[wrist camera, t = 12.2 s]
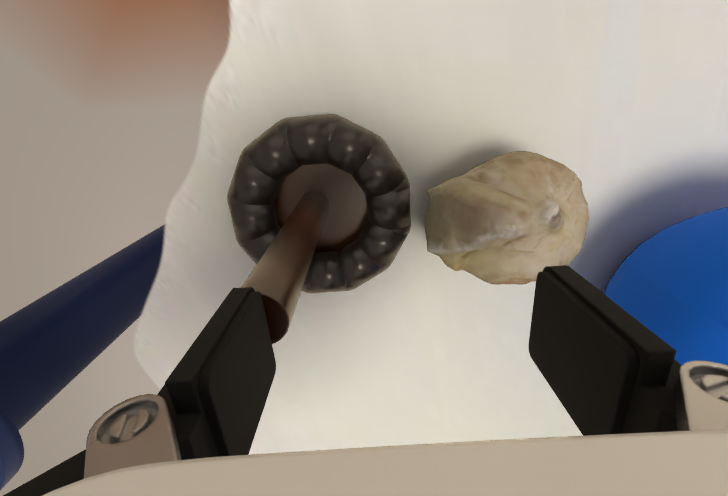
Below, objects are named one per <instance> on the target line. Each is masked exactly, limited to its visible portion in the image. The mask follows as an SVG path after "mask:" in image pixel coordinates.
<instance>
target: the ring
mask: <svg viewBox="0 0 728 496" xmlns="http://www.w3.org/2000/svg"><path fill="white" fill-rule="evenodd" d="M327 163H328V164H330V165H332V166H334V167H336V168H338V169H341V170H343V171H345V172H347V173H349V174H351V175H352V176H353V177H354V179H355V180H356V182H357V183H358V185H359V186H360V188H361V189H362V190H363V192H364V193H365V195H366V200H367V213H368V220H367V222H366V224H365V226H364V228H363V230H362V232H361V234H360V236H359V238H358V239H357V240H355V241H354V242H352V243H351V244H349V245H347V246H346V247H344V248H343V249H341V250H340V251H331V252H317V253H315V252H314V254H313V257H312V260H311V263H310V266H309V269H308V272H307V275H306V278H305V281H304V284H303V287H302V290H301V291H304V292H307V293H322V292H336V291H349V290H353V289H355V288H357V287H358V286H360V285H362V284H363V283H365V282H366V281H368V280H370V279H371V278H373V277H375V276H376V275H378V274H380V273H381V272H383V271H384V270H386V269H387V268H388V267H389V266H390V265H391V263H392V262H393V260H394V258H395V256H396V254H397V253H398V251H399V249H400V247H401V245H402V244H403V242H404V240H405V238H406V236H407V235H408V233H409V231H410V227H411V207H410V184H409V180H408V177H407V175H406V174H405V172H404V171H403V169H402V168H401V166H400V164H399V163H398V161H397V160H396V158H395V157H394V155H393V153H392V152H391V150H390V149H389V147H388V146H387V144H386V143H385V141H384V140H383V139H382V138H381V137H380V136H378V135H376V134H374V133H372V132H370V131H368V130H366V129H364V128H362V127H360V126H358V125H356V124H354V123H352V122H350V121H348V120H346V119H344V118H342V117H340V116H338V115H334V114H327V115H315V116H304V117H292V118H285V119H282V120H280V121H279V122H277V123H276V124H275V125H273V126H272V127H271V128H269V129H268V130H267V131H266V132H264V133H263V134H262V135H260V136H259V137H258V138H257V139H255V140H254V141H253V142H251V143H250V144H249V145H248V146H247V147H245V148H244V150H243V151H242V153H241V155H240V158H239V161H238V164H237V167H236V170H235V172H234V175H233V178H232V181H231V184H230V187H229V190H228V195H227V200H228V205H229V209H230V214H231V218H232V222H233V227H234V231H235V236H236V239H237V241H238V243H239V245H240V246H241V247H242V249H243V250H244V251H245V252H246V253H247V254H248V255H249V256H250V258H251V259H252V260H253V261H254V262H255V263H256V264H257V263H258V262H259V260H260V259H261V257H262V256H263V255H264V253H265V252H266V250H267V249H268V247H269V246H270V244H271V243H272V241H273V240H274V238H275V237H276V235H277V234H278V232H279V231H280V229H281V227H280V226H279V225H278V221H277V216H276V210H275V204H274V200H275V197H276V195H277V192H278V190H279V187H280V184H281V182H282V180H283V179H284V178H285V177H287V176H288V175H290V174H291V173H292V172H294V171H295V170H296V169H298V168H299V167H300V166H302V165H314V164H327Z"/></svg>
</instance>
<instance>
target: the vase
mask: <svg viewBox="0 0 728 496" xmlns="http://www.w3.org/2000/svg"><path fill="white" fill-rule="evenodd" d="M605 295H606V296H607V297H608V298H610V299H611V300H612V301H613V302H615V303H616V304H617V305H619V306H620V307H621V308H622V309H624V310H625V311H626V312H628V313H629V314H630V315H631V316H633V317H634V318H635V319H637V320H638V321H639V322H640V323H642V324H643V325H644V326H645V327H647V328H648V329H649V330H651V331H652V332H653V333H654V334H656V335H657V336H658V337H660V338H661V339H662V340H663V341H665V342H666V343H667V344H669V345H670V346H671V347H672V348H674V349H675V350H676V354H675V357H674V359H675V360H676V361H677V362H678V363H680V364H681V365H683V364H685V363H686V362H691V361H710V362H715V363H721V364H724V365H727V366H728V207H725V208H721V209H718V210H715V211H711V212H708V213H705V214H702V215H698V216H695V217H692V218H689V219H687V220H684V221H682V222H679V223H677V224H674V225H672V226H669V227H667V228H665V229H663V230H662V231H660V232H659V233H657V234H656V235H654V236H653V237H651V238H649V239H648V240H646V241H645V242H643V243H642V244H641V245H640V246H639V247H638V248H637V249H636V250H635V251H633V252H632V253H631V254H630V255H629V256H628V257H627V258H626V259H625V260H624V261H623V262H622V264H621V265H620V267H619V268H618V270H617V271H616V273H615V274H614V276H613V277H612V278H611V280H610V281H609V283H608V286H607V289H606V292H605Z"/></svg>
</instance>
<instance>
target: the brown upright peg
mask: <svg viewBox="0 0 728 496" xmlns="http://www.w3.org/2000/svg"><path fill="white" fill-rule="evenodd" d="M274 204H275V210H276V216H277V221H278V225H279V226H280V227H281V229H280V231H279V232H278V234H277V235H276V237H275V238H274V240H273V241H272V243H271V244H270V246H269V247H268V249H267V250H266V252H265V253H264V255H263V256H262V257H261V259H260V260H259V262H258V263H257V265H256V266H255V268H254V269H253V271H252V272H251V274H250V275H249V277H248V278H247V280H246V281H245V283H244V284H243V286H242V287H241V288H246V287H253V288H254V290H255V291H259V292H260V293H261V296H262V301H263V305H264V310H265V315H266V320H267V324H268V329H269V334H270V338H271V343H272V344H273V343H276V342H277V341H279V340H280V339H282V338H283V337H284V335H285V334H286V332H287V331H288V328H289V325H290V322H291V319H292V316H293V313H294V310H295V307H296V304H297V301H298V298H299V296H300V293H301V290H302V287H303V284H304V281H305V278H306V275H307V272H308V269H309V266H310V263H311V260H312V257H313V254H314V252H315V253H317V252H331V251H340V250H341V249H343V248H344V247H346V246H347V245H349V244H351V243H352V242H354V241H355V240H357V239H358V238H359V236H360V234H361V232H362V230H363V228H364V226H365V224H366V222H367V220H368V213H367V200H366V195H365V193H364V192H363V190H362V189H361V188H360V186H359V185H358V183H357V182H356V180H355V179H354V177H353V176H352V175H351V174H349V173H347V172H345V171H343V170H341V169H338V168H336V167H334V166H332V165H330V164H328V163H327V164H314V165H302V166H300V167H299V168H298V169H296V170H295V171H294V172H292V173H291V174H290V175H288V176H287V177H285V178H284V179H283V180H282V182H281V184H280V187H279V190H278V192H277V195H276V197H275V200H274Z"/></svg>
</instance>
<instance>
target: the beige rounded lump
mask: <svg viewBox="0 0 728 496" xmlns="http://www.w3.org/2000/svg"><path fill="white" fill-rule="evenodd" d="M581 186H582V182H581V180H580V179H579V178H578V177H577V176H576V174H575V173H574V172H573V171H572V170H570V169H569V168H567V167H566V166H564V165H563V164H561V163H558V162H556V161H554V160H551V159H549V158H546V157H544V156H542V155H539V154H537V153H531V152H526V151H517V152H510V153H507V154H504V155H500V156H497V157H495V158H493V159H491V160H489V161H487V162H485V163H483V164H481V165H479V166H477V167H475V168H473V169H471V170H470V171H468V172H467V173H466V174H464V175H462V176H457V177H454V178H452V179H449V180H447V181H445V182H443V183H442V184H440V185H438V186H436V187H434V188H431V189H429V190H428V191H427V192H426V193H427V195H428V196H429V198H430V200H431V201H430V203H429V207H428V211H427V214H426V218H425V231H426V238H427V250H428V252H431V253H433V254H435V255H438V256H439V257H440V258H441V259H442V260H443V262H444V263H445V264H446V265H447V266H448V267H450V268H451V269H453V270H455V271H458V270H465V271H467V272H469V273H471V274H473V275H474V276H476V277H478V278H480V279H481V280H483V281H485V282H488V283H490V284H527V283H529V282H531V281H536V279H537V274H538V273H539V272H542V271H543V269H544V268H545V267H547V266H562V265H568V264H569V263H570V262H571V261H572V260H573V259H574V258H575V257H576V256H577V255H578V254H579V253H580V250H581V247H582V245H583V242H584V239H585V234H586V230H587V225H588V220H589V212H588V204H587V202H586V200H585V197H584V194H583V192H582V187H581Z"/></svg>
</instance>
